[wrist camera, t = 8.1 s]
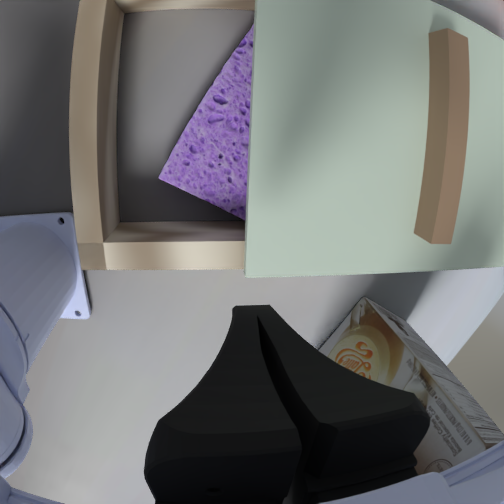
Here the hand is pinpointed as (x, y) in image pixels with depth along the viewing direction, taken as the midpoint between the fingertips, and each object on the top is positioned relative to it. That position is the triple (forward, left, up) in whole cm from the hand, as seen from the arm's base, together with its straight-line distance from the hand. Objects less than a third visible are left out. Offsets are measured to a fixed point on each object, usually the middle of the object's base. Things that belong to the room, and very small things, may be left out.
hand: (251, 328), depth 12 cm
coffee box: (+11, -10, -10) cm, 18 cm away
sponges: (+2, +8, -10) cm, 13 cm away
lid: (+11, +8, -6) cm, 15 cm away
